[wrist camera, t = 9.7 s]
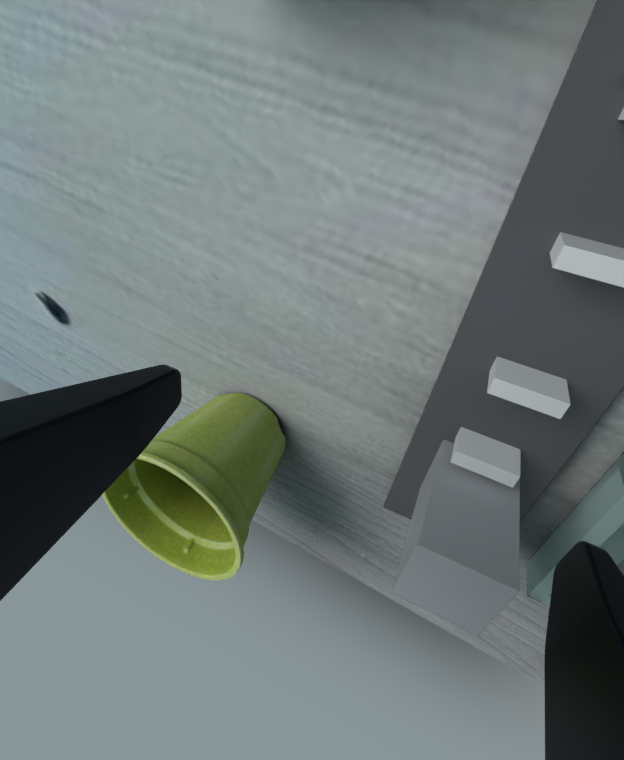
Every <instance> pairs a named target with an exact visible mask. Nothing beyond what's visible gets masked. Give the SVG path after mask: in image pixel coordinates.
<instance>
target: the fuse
mask: <svg viewBox="0 0 624 760" xmlns="http://www.w3.org/2000/svg"><path fill="white" fill-rule="evenodd" d="M617 566H618V567H619V569H620V570H621V572H622V573H623V575H624V560H623V561H621V562H620V563H619V564H618V565H617Z"/></svg>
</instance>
